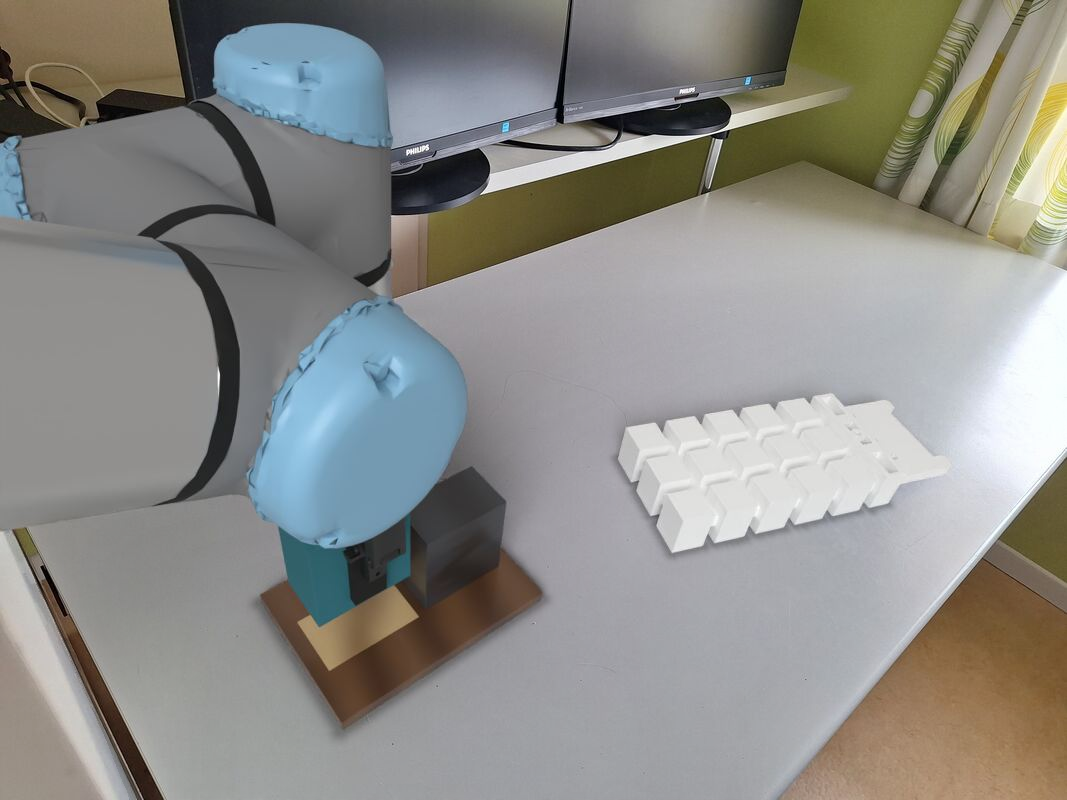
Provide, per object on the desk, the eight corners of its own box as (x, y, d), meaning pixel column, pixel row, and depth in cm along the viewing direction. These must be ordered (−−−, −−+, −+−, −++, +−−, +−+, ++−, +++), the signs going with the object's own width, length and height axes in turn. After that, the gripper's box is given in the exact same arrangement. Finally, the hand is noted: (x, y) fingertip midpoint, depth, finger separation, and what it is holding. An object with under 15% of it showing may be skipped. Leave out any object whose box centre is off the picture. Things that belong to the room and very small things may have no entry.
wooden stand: (342, 730, 58) (333, 660, 51) (261, 602, 66) (244, 526, 59) (541, 600, 69) (555, 527, 62) (452, 502, 76) (456, 429, 70)
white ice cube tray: (625, 427, 80) (888, 383, 91) (617, 459, 83) (872, 413, 94) (683, 521, 71) (967, 460, 82) (671, 553, 74) (946, 490, 85)
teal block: (319, 628, 56) (307, 553, 50) (287, 581, 59) (273, 506, 53) (410, 575, 61) (410, 501, 55) (377, 534, 63) (374, 459, 57)
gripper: (473, 386, 41) (457, 626, 56) (312, 238, 50) (336, 477, 66) (348, 441, 37) (367, 683, 52) (199, 268, 47) (252, 515, 62)
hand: (349, 567), depth 59 cm, fingers closed on teal block, 5 cm apart
